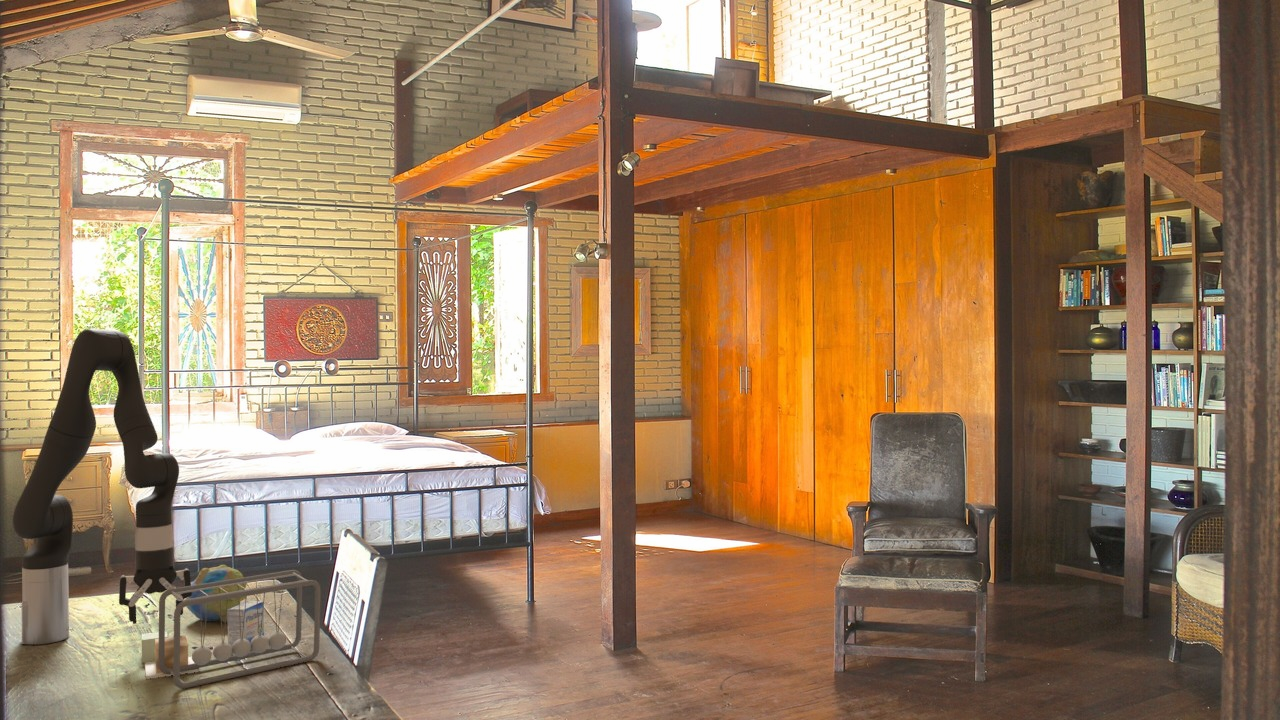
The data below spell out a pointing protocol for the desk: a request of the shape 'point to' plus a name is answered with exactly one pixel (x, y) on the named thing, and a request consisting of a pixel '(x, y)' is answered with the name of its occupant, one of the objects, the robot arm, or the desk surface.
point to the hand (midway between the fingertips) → (156, 620)
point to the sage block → (149, 646)
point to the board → (151, 673)
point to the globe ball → (214, 607)
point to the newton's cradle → (241, 645)
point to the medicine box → (245, 621)
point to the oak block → (172, 652)
